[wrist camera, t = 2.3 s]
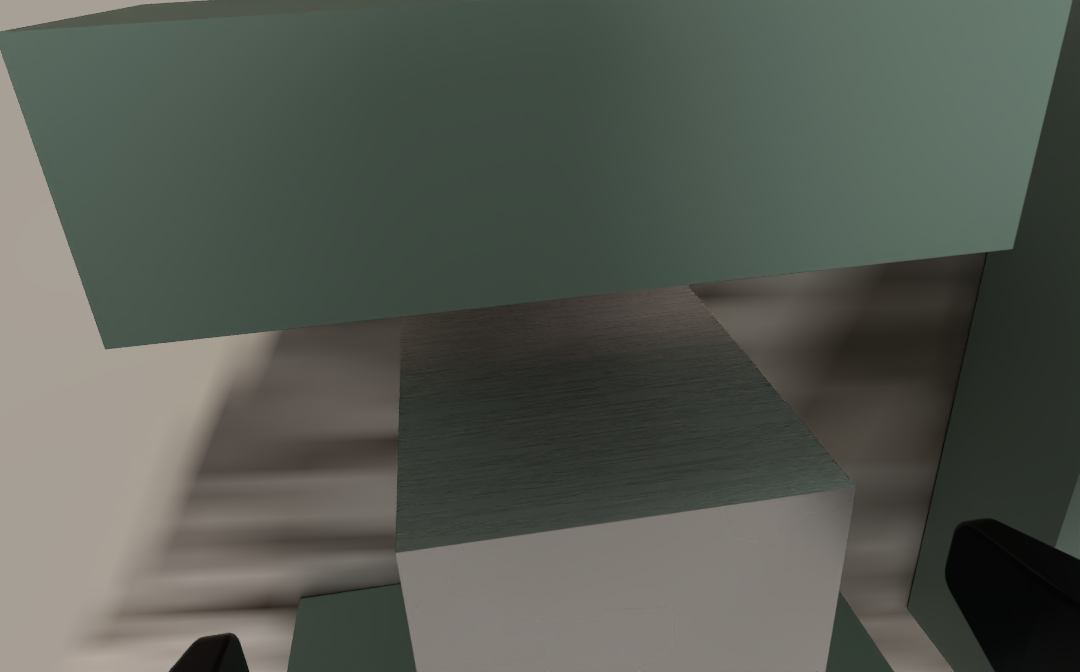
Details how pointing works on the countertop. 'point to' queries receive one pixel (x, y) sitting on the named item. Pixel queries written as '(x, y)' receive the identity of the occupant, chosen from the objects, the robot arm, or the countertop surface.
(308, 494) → the countertop surface
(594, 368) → the steel block
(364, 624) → the vise
